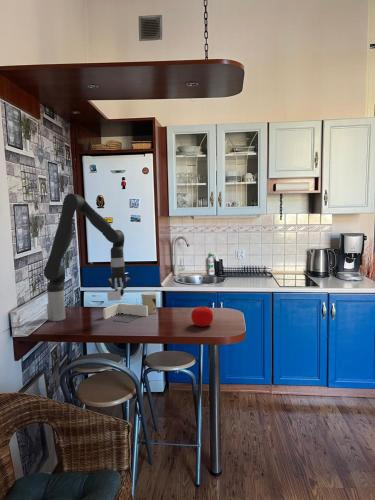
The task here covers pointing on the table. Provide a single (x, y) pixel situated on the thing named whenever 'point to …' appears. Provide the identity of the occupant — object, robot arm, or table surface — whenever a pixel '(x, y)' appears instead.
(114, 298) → the bracket
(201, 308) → the tomato
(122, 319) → the mat
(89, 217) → the robot arm
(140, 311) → the corner wall
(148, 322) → the table surface
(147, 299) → the coffee cup
